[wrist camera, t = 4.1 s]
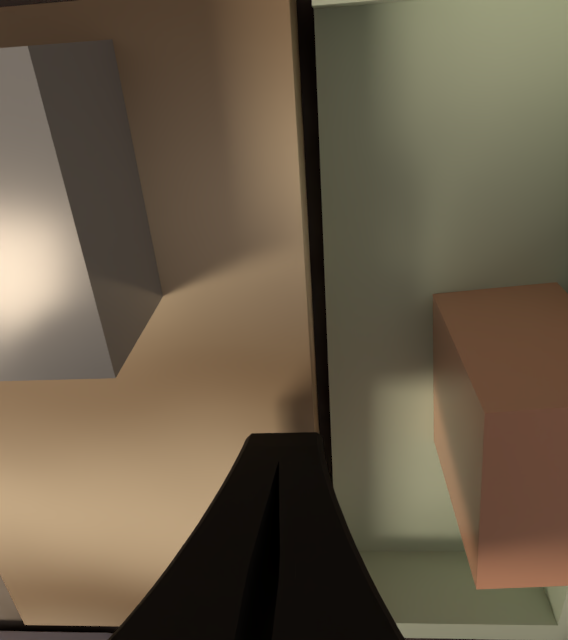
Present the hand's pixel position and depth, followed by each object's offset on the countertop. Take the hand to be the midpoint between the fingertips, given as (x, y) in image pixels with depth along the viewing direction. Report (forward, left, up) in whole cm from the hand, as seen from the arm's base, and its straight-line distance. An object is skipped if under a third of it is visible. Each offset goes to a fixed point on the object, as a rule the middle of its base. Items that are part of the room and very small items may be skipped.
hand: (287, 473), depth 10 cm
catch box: (+1, -4, -3) cm, 5 cm away
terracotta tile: (0, -3, -1) cm, 3 cm away
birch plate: (+1, +4, -3) cm, 5 cm away
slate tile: (+5, +4, -1) cm, 7 cm away
